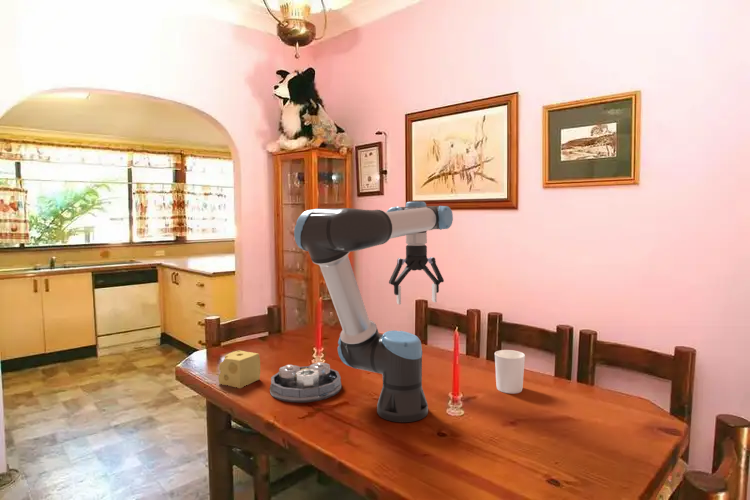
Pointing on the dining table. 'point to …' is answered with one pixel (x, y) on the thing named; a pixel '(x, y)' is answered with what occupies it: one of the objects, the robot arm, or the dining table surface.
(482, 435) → the dining table surface
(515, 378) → the white tapered cup
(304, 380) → the octagonal hollow container
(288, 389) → the carrier
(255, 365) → the cheese
